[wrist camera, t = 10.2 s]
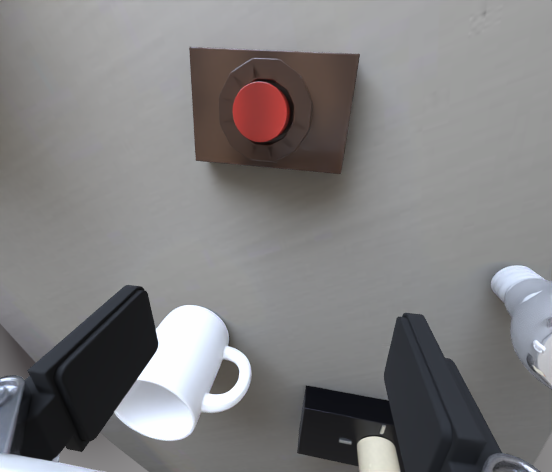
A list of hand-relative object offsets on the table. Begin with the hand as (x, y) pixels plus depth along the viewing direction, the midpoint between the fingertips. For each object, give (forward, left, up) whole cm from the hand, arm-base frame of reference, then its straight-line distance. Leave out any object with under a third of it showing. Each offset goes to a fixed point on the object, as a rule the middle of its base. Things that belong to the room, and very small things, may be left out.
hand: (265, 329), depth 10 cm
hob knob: (-12, +28, -14) cm, 34 cm away
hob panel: (-10, +28, -17) cm, 34 cm away
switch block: (+3, -7, -17) cm, 18 cm away
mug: (+9, +18, -17) cm, 26 cm away
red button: (+3, -7, -13) cm, 15 cm away
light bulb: (-19, +5, -17) cm, 26 cm away
